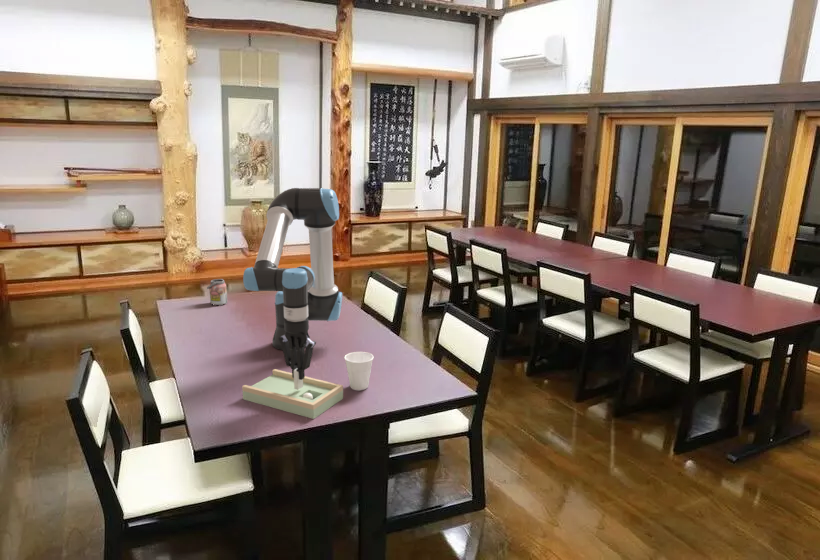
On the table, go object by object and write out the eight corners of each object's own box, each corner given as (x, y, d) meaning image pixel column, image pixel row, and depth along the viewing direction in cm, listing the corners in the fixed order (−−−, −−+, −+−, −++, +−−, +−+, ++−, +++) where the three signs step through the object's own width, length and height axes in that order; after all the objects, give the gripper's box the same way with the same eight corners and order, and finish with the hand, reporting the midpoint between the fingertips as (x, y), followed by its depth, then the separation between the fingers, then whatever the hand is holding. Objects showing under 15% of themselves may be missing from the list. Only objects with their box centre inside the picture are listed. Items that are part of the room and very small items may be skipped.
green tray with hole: (243, 399, 187) (242, 386, 186) (275, 381, 201) (274, 369, 200) (313, 418, 175) (313, 405, 174) (343, 398, 189) (342, 385, 188)
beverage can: (205, 305, 287) (203, 282, 284) (213, 300, 295) (211, 278, 292) (222, 306, 286) (221, 283, 283) (230, 301, 294) (229, 279, 291)
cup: (345, 381, 202) (344, 351, 199) (373, 380, 203) (373, 351, 200) (344, 393, 193) (343, 362, 190) (374, 393, 193) (374, 362, 191)
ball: (303, 393, 183) (310, 402, 182) (310, 388, 186) (317, 397, 185) (297, 398, 185) (304, 407, 184) (304, 394, 188) (311, 402, 187)
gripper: (271, 318, 180) (275, 388, 186) (306, 324, 175) (308, 396, 181) (286, 311, 187) (289, 379, 193) (320, 317, 181) (322, 387, 187)
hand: (298, 387), depth 187 cm, fingers closed
